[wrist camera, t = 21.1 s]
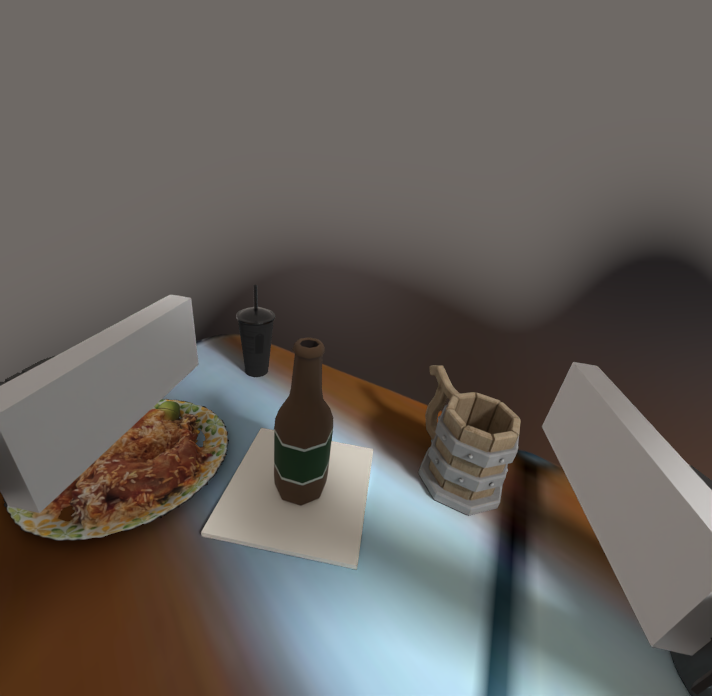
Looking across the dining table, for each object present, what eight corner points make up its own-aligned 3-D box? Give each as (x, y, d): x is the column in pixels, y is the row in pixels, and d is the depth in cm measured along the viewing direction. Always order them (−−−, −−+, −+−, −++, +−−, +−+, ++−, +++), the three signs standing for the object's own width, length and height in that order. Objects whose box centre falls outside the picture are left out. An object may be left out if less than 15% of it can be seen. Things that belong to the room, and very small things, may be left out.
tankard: (515, 504, 55) (552, 431, 48) (446, 522, 50) (476, 445, 43) (447, 420, 71) (467, 356, 64) (390, 429, 67) (405, 361, 60)
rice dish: (-17, 471, 50) (-35, 444, 48) (169, 385, 71) (164, 363, 68) (66, 608, 37) (48, 581, 35) (265, 455, 58) (263, 431, 55)
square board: (372, 452, 61) (373, 449, 60) (356, 569, 43) (357, 565, 43) (261, 431, 62) (261, 427, 62) (201, 536, 45) (201, 532, 44)
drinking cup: (281, 367, 81) (282, 284, 71) (261, 384, 74) (260, 295, 65) (252, 358, 83) (250, 276, 73) (231, 374, 76) (226, 286, 67)
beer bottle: (262, 486, 51) (260, 341, 40) (300, 456, 57) (307, 322, 46) (301, 518, 47) (311, 368, 36) (337, 483, 53) (355, 344, 42)
